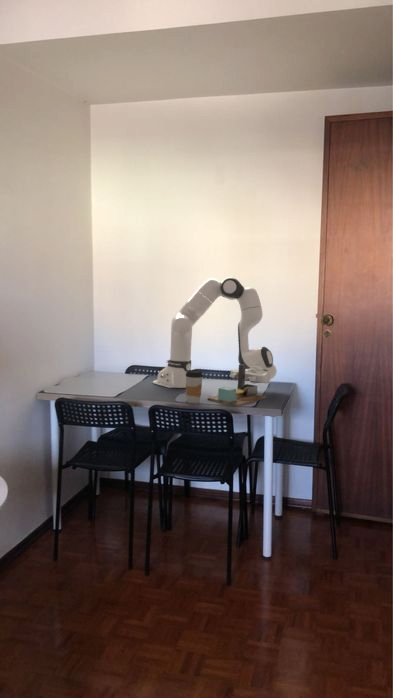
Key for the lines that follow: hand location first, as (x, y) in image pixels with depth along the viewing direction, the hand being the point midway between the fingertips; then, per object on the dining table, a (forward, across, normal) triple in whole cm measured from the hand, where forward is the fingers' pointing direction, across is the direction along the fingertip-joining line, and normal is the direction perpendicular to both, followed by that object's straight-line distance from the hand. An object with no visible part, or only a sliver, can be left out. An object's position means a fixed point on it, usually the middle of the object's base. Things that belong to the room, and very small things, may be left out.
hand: (240, 377), depth 292 cm
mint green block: (+11, 0, +10) cm, 15 cm away
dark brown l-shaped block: (-2, 0, +8) cm, 9 cm away
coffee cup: (+24, -11, +11) cm, 28 cm away
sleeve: (-6, 0, +10) cm, 12 cm away
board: (+2, 0, +10) cm, 11 cm away
